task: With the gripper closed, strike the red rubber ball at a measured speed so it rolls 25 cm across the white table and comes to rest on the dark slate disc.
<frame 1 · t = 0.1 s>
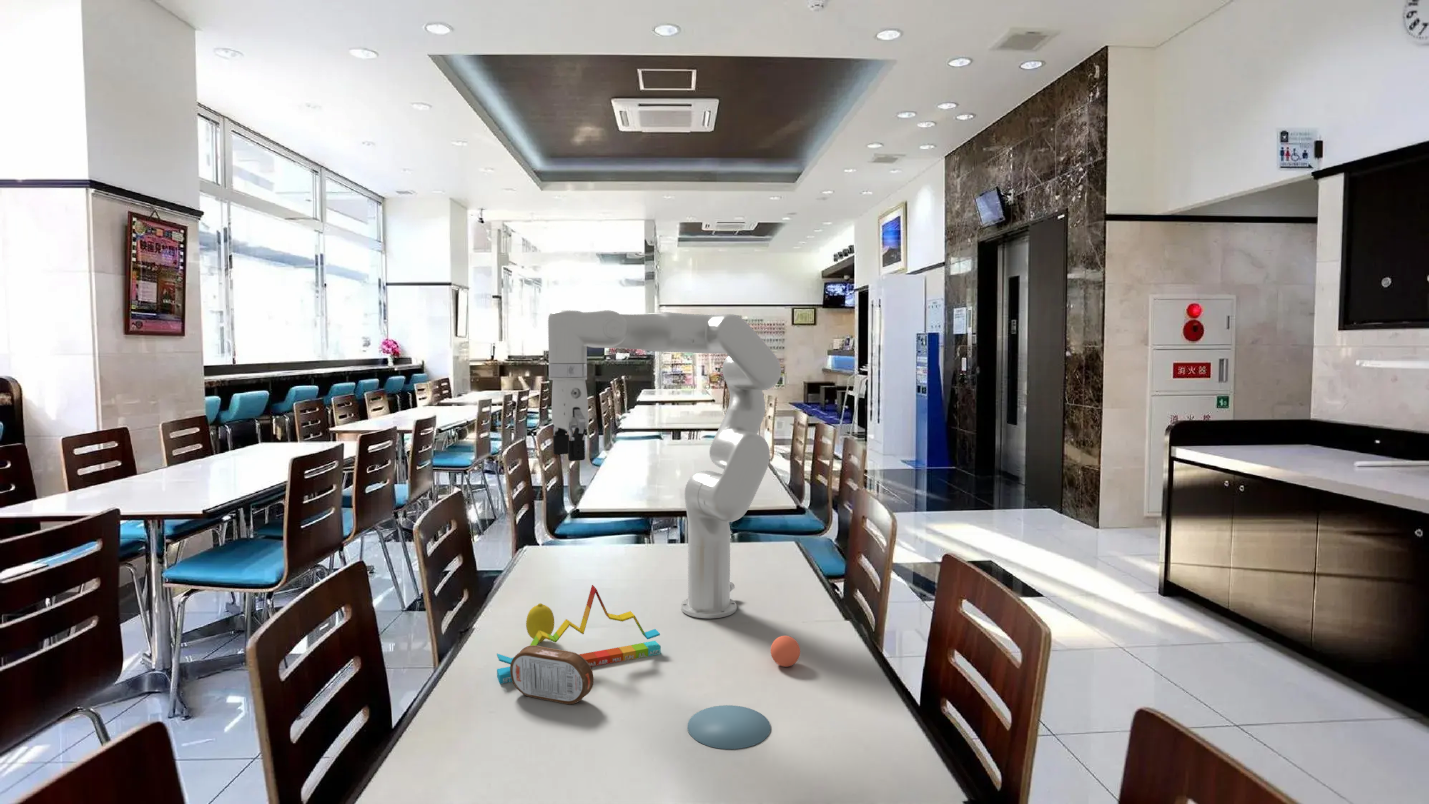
hand: (568, 457, 148), 37 cm above the table, tool pointing down, fingers open, 9 cm apart
chart: (582, 668, 137), on the table
lemon: (540, 643, 147), on the table
ball: (785, 650, 137), on the table
tin: (550, 699, 124), on the table
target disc: (728, 726, 115), on the table
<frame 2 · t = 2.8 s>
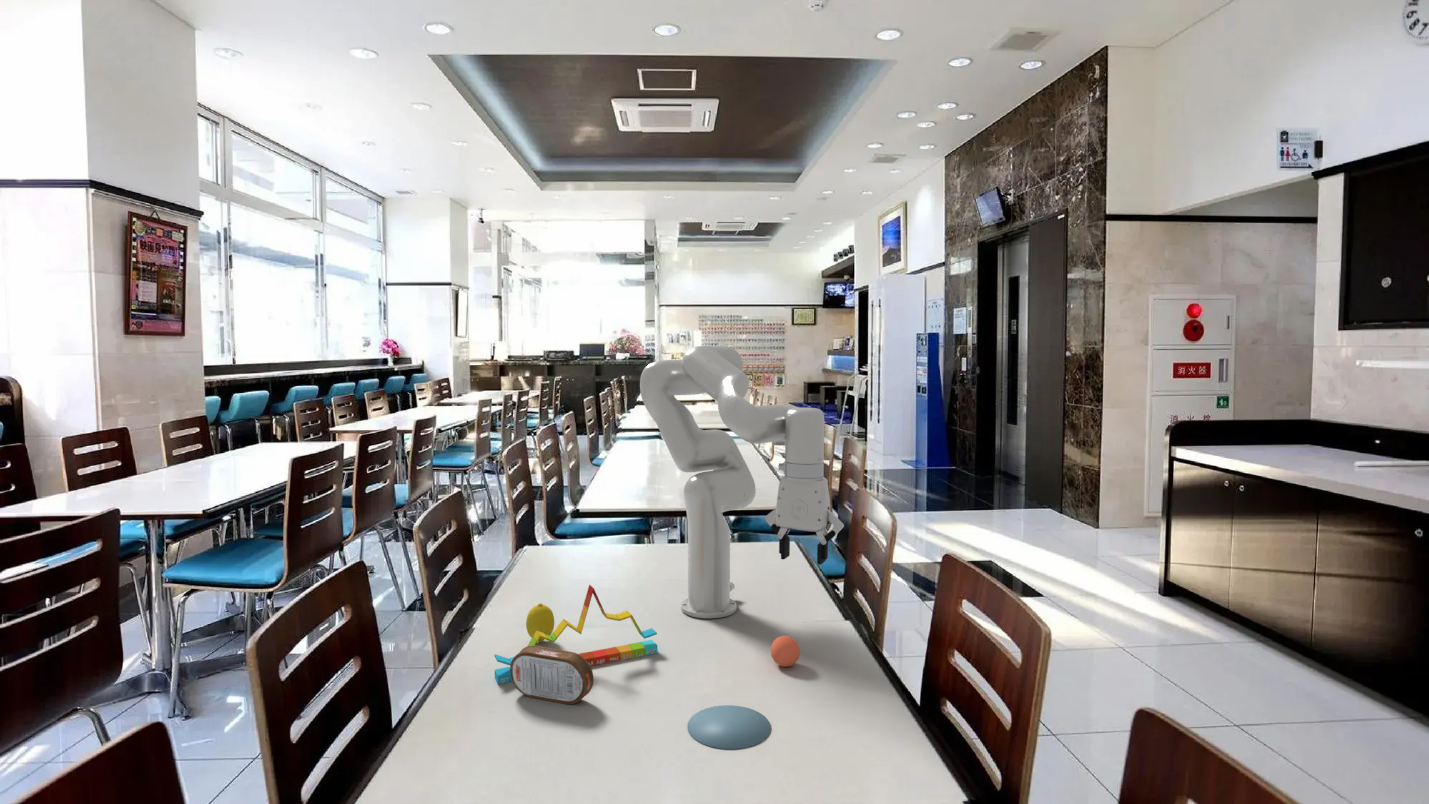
hand: (803, 559, 144), 18 cm above the table, tool pointing down, fingers open, 6 cm apart
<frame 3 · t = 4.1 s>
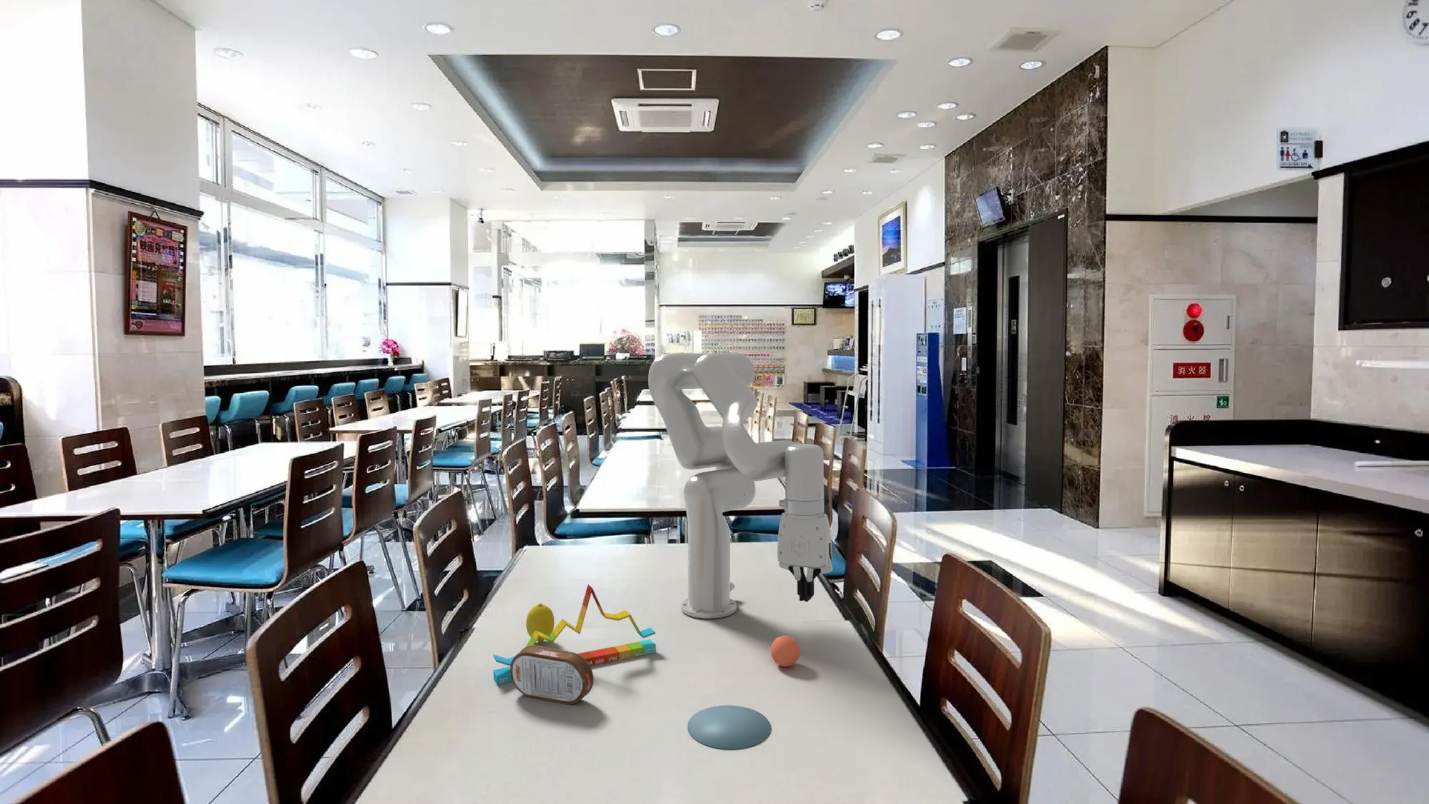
hand: (805, 599, 144), 10 cm above the table, tool pointing down, fingers closed
nothing on the table moved.
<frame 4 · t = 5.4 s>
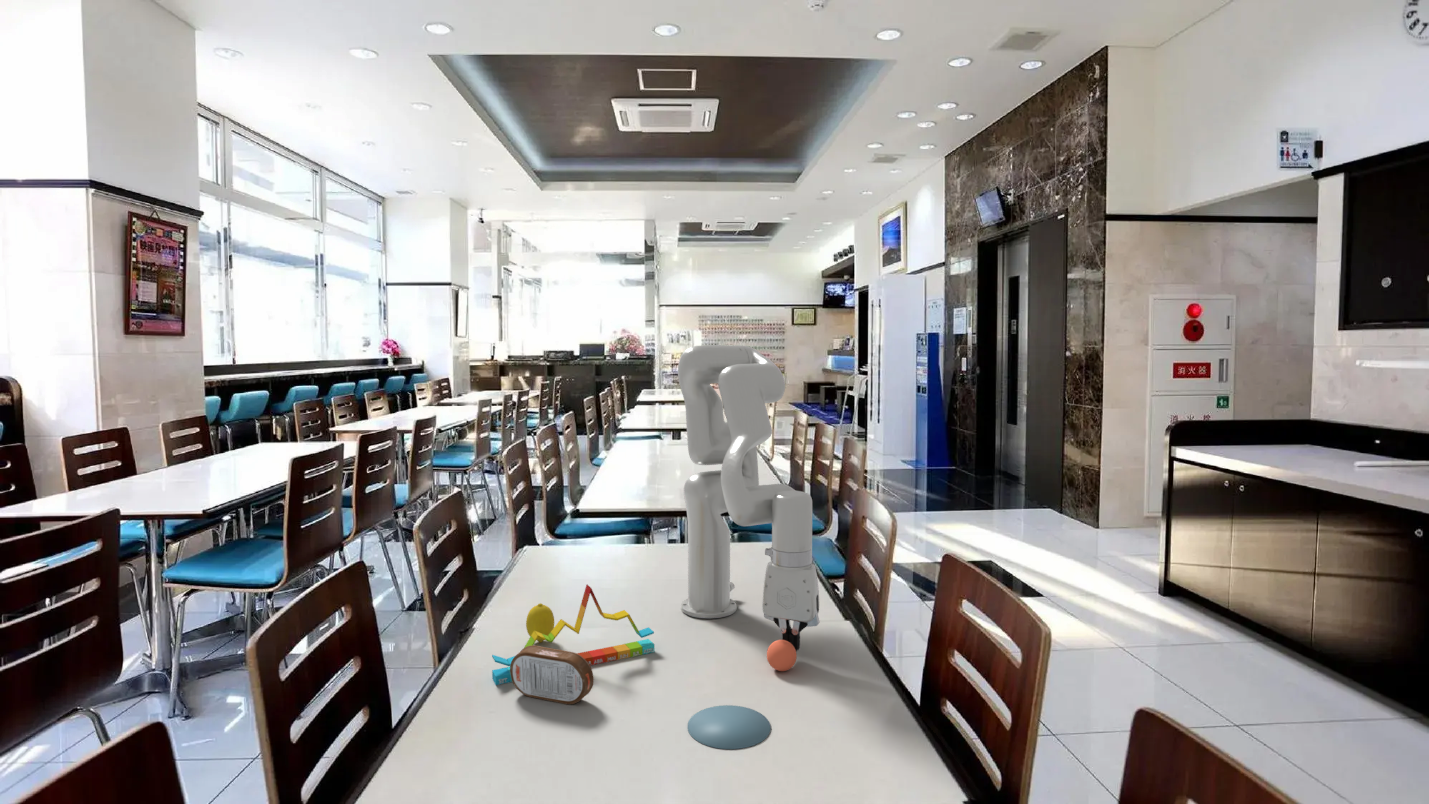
hand: (791, 651, 139), 2 cm above the table, tool pointing down, fingers closed
ball: (781, 655, 135), on the table
everything else where it was.
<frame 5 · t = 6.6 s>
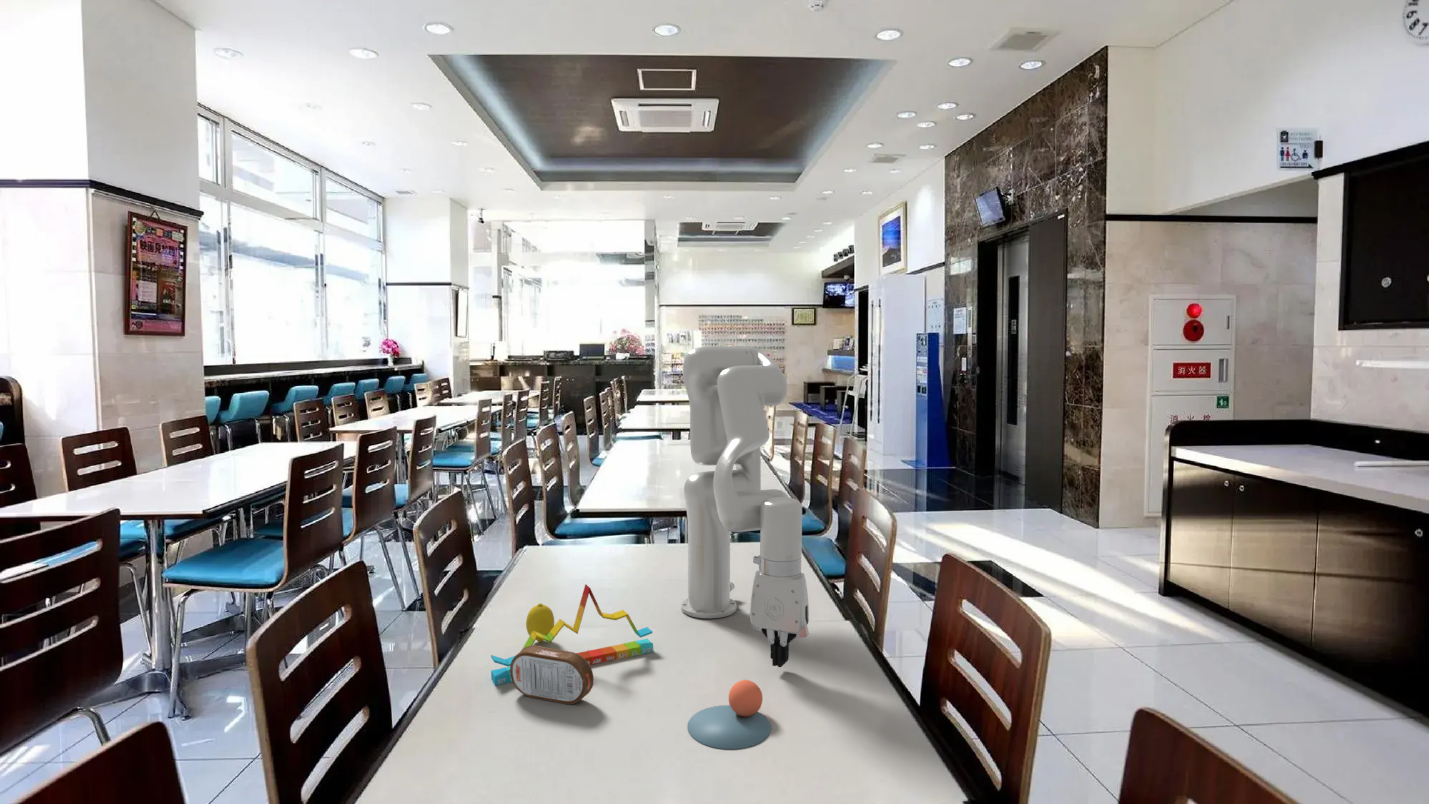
hand: (779, 663, 134), 2 cm above the table, tool pointing down, fingers closed
ball: (745, 697, 118), resting on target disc
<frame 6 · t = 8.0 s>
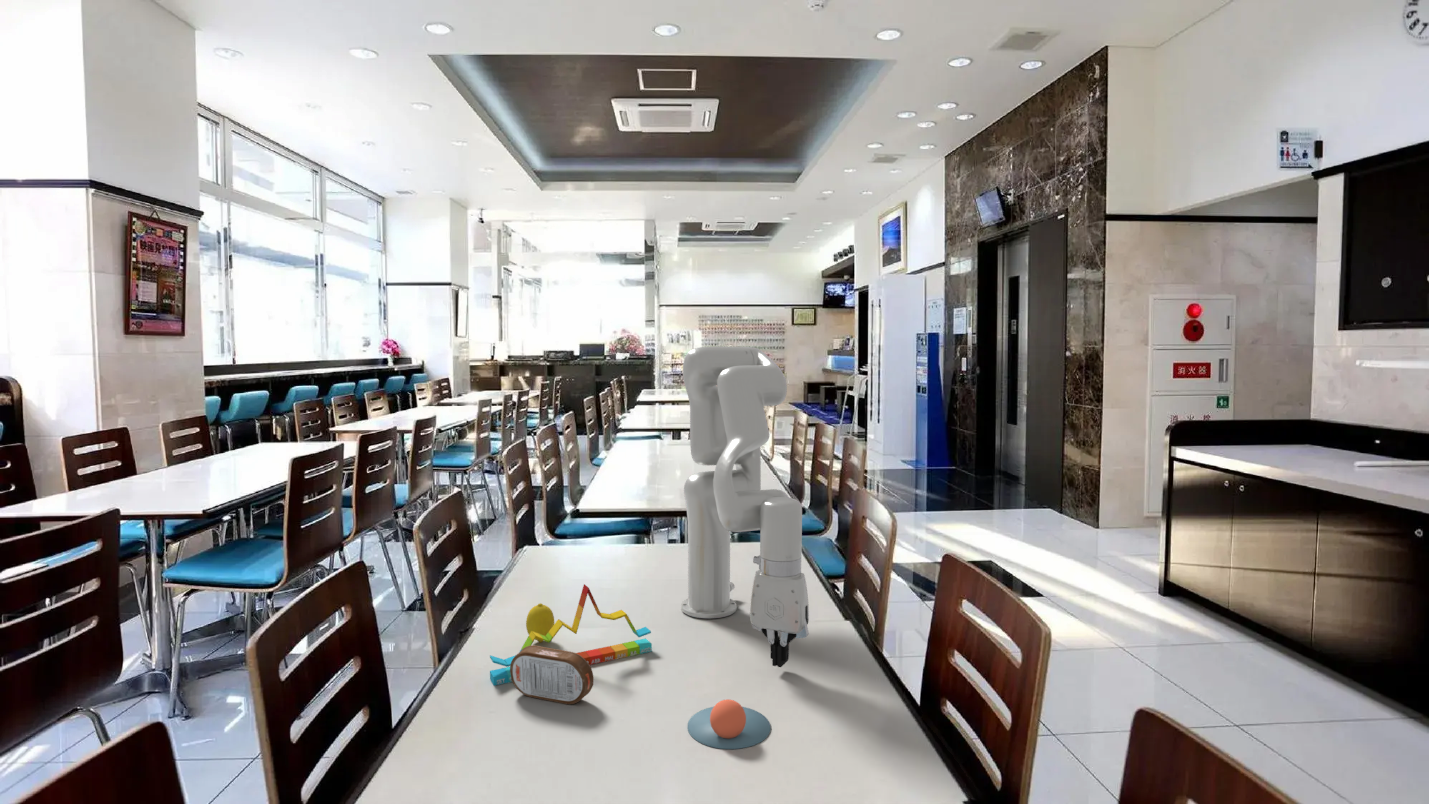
hand: (779, 663, 134), 2 cm above the table, tool pointing down, fingers closed
ball: (728, 718, 112), resting on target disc
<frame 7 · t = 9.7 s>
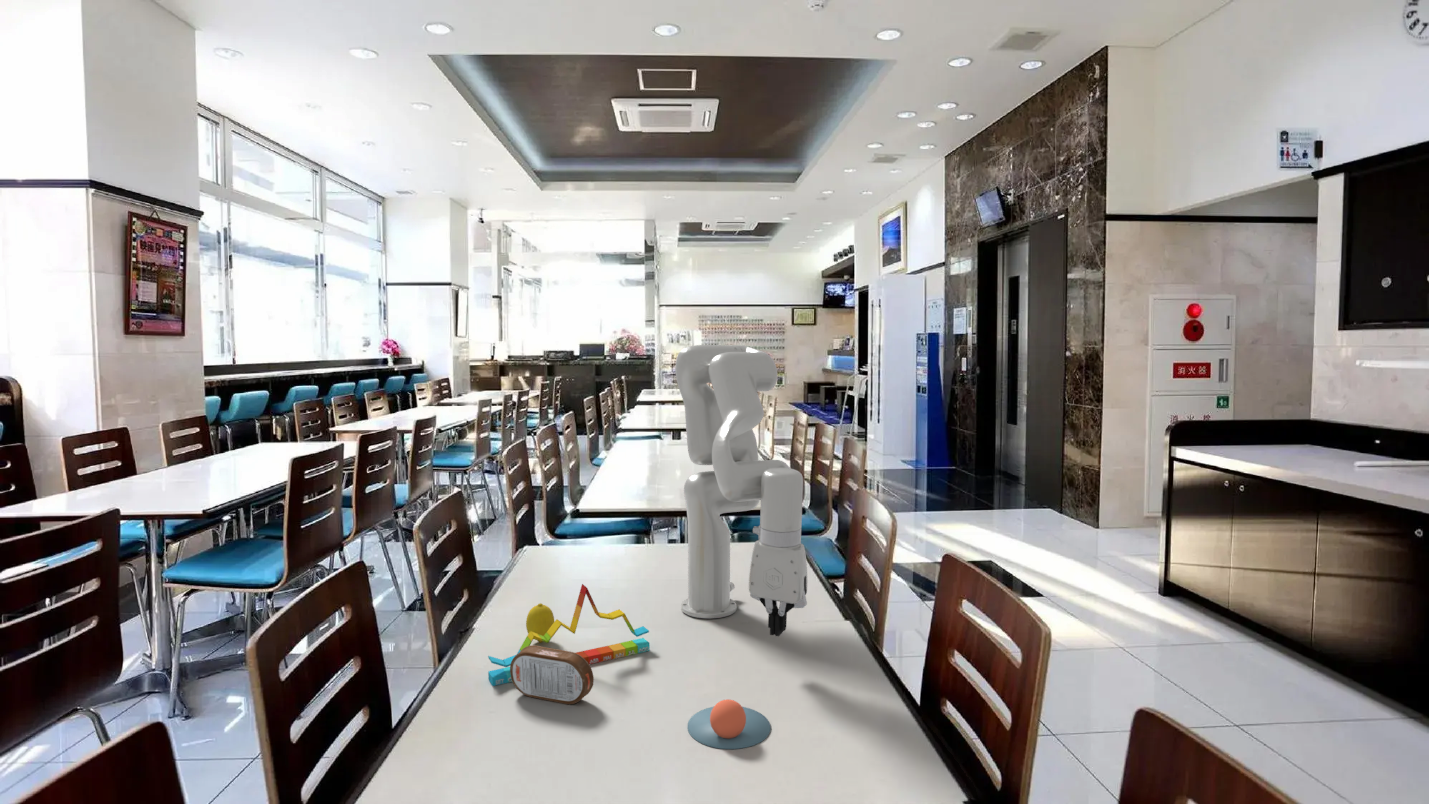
hand: (777, 632, 135), 7 cm above the table, tool pointing down, fingers closed
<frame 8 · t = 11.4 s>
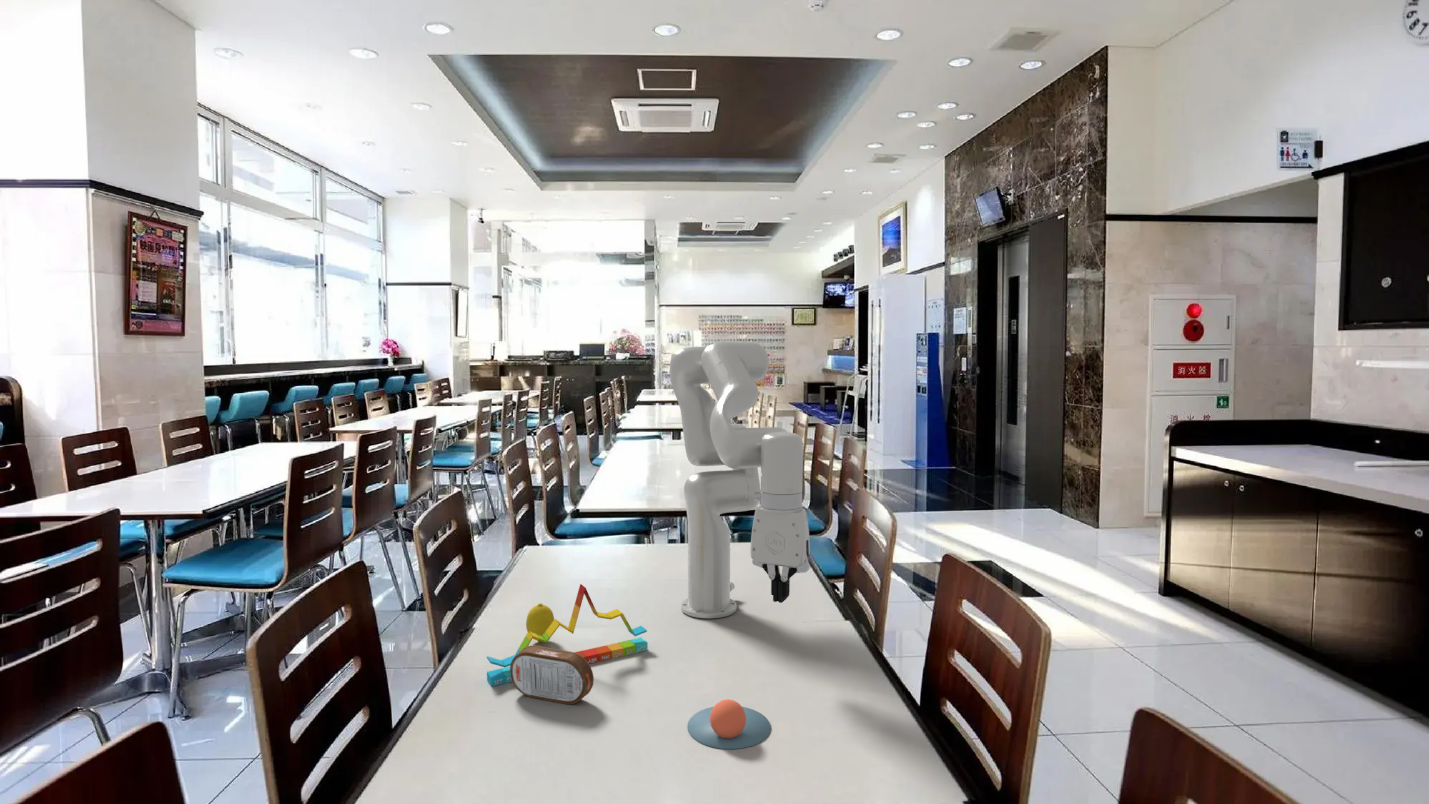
hand: (780, 599, 133), 13 cm above the table, tool pointing down, fingers closed
at the end: ball 2.8 cm from the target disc (horizontally); ball at rest at the end (0.0 cm/s); ball moved 27.7 cm from its start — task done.
